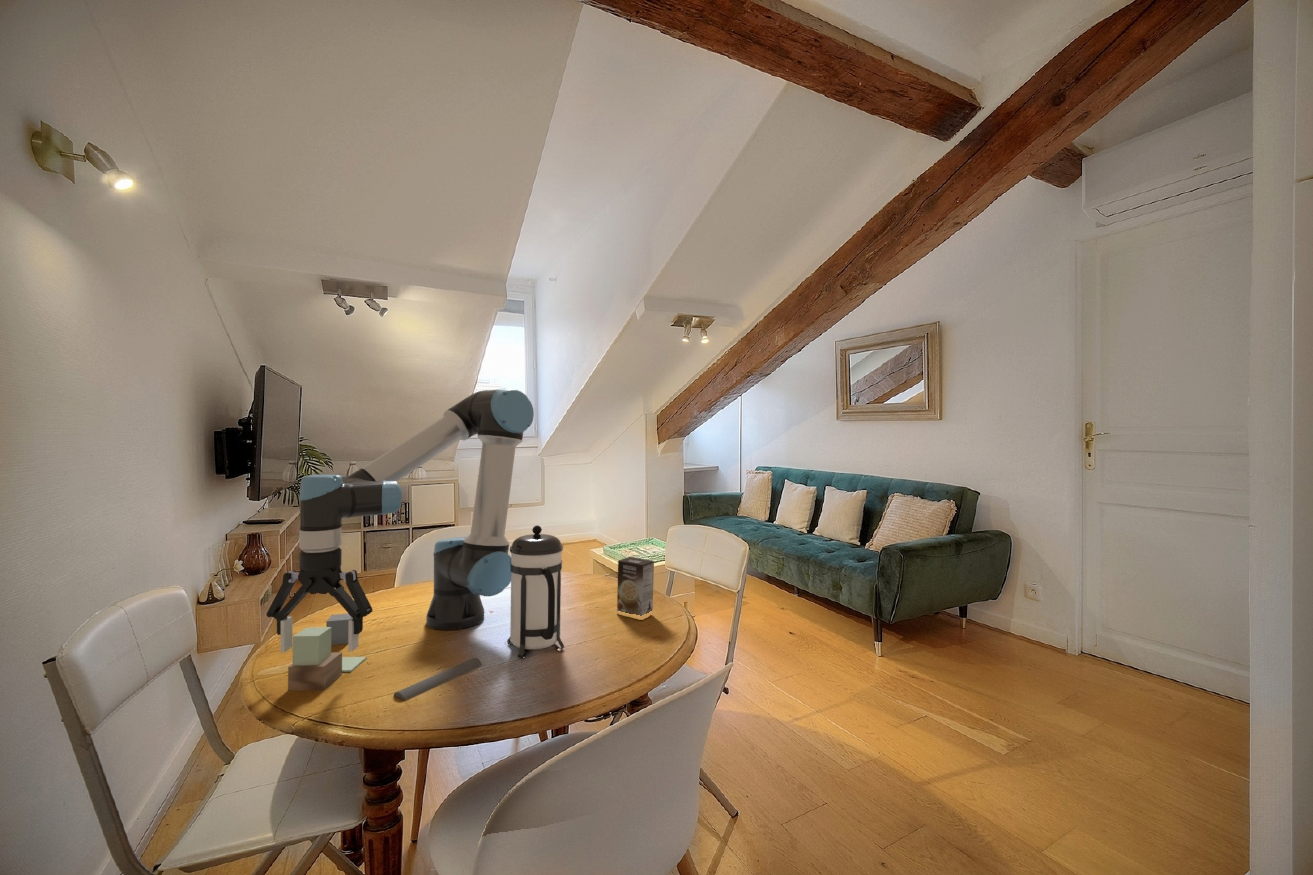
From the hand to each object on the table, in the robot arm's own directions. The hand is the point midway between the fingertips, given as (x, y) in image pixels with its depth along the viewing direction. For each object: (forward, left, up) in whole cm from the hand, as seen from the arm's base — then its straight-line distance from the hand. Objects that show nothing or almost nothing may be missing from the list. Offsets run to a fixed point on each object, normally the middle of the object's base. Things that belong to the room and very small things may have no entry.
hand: (320, 649), depth 113 cm
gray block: (+7, -22, -7) cm, 24 cm away
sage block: (+1, +1, -2) cm, 2 cm away
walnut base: (0, +1, -7) cm, 7 cm away
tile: (-1, -7, -7) cm, 10 cm away
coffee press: (-43, -16, -7) cm, 46 cm away
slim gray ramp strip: (-25, 0, -7) cm, 26 cm away
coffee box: (-67, -40, -7) cm, 78 cm away
